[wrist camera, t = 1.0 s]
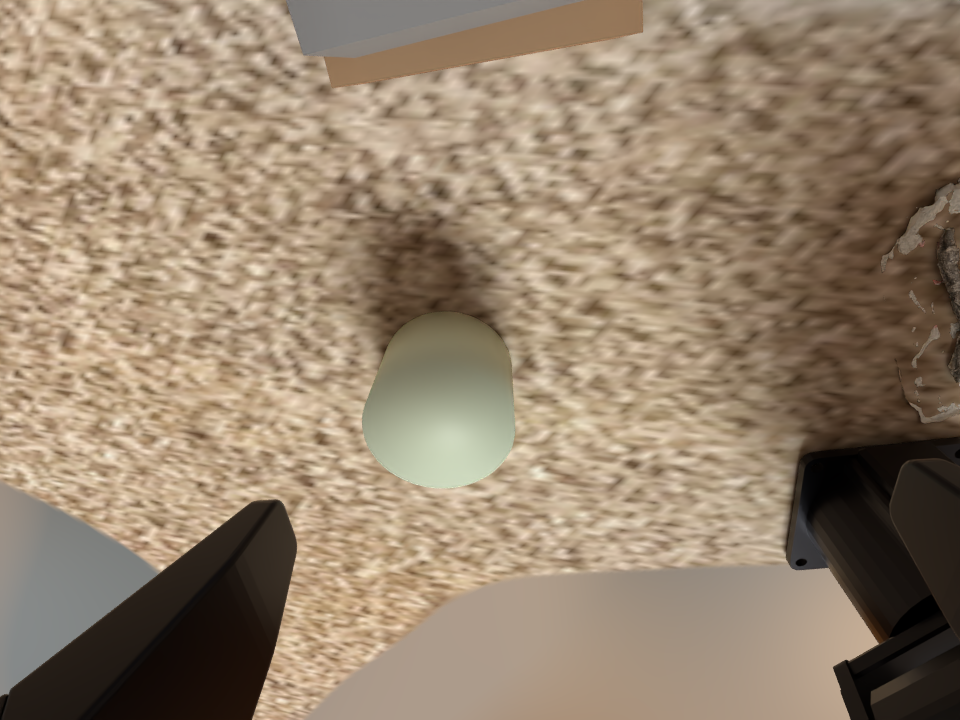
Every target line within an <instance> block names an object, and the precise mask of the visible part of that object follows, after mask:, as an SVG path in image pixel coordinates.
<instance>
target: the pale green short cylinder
mask: <svg viewBox="0 0 960 720" xmlns="http://www.w3.org/2000/svg"><path fill="white" fill-rule="evenodd" d="M362 428H363V434H364V438H365V440H366V443H367V446H368V447H369V449H370V451H371V453H372V454H373V455H374V457H375V458H376V459H377V461H378V462H379V463H380V464H381V465H382V466H383V467H385V468H386V469H387V470H388V471H389V472H391V473H392V474H394V475H396V476H397V477H399V478H401V479H403V480H405V481H407V482H410V483H413V484H416V485H420V486H424V487H430V488H455V487H462V486H465V485H469V484H472V483H474V482H477V481H479V480H481V479H483V478H485V477H487V476H488V475H490V474H491V473H492V472H494V471H495V470H496V469H497V468H498V467H499V466H500V465H501V464H502V463H503V461H504V460H505V459H506V457H507V456H508V454H509V452H510V450H511V448H512V445H513V441H514V437H515V416H514V398H513V380H512V363H511V358H510V354H509V352H508V349H507V347H506V345H505V343H504V342H503V340H502V339H501V338H500V336H499V335H498V334H497V333H496V332H495V331H494V330H493V329H492V328H491V327H490V326H488V325H487V324H486V323H484V322H482V321H481V320H479V319H477V318H474V317H472V316H470V315H466V314H463V313H458V312H449V311H441V312H433V313H428V314H424V315H421V316H419V317H416V318H414V319H412V320H411V321H409V322H408V323H406V324H405V325H403V326H402V327H401V328H400V329H399V330H398V331H397V332H396V333H395V335H394V336H393V337H392V339H391V341H390V342H389V344H388V347H387V349H386V352H385V354H384V357H383V359H382V362H381V365H380V367H379V370H378V372H377V375H376V378H375V380H374V383H373V385H372V388H371V390H370V393H369V396H368V398H367V401H366V403H365V406H364V410H363V416H362Z"/></svg>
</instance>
